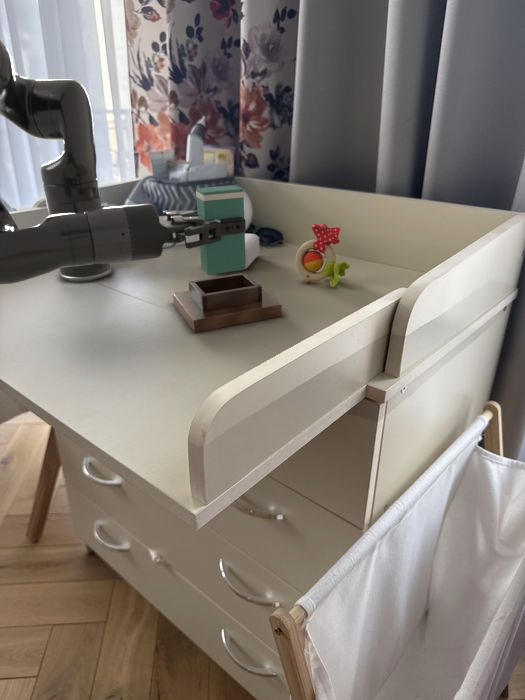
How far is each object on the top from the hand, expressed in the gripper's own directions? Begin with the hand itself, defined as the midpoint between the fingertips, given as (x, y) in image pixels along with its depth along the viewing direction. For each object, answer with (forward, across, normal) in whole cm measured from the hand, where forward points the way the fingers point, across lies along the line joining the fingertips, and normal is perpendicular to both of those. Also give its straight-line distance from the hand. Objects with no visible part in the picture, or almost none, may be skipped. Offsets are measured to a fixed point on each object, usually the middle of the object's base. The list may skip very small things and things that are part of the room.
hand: (238, 221), depth 81 cm
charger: (+5, +21, +14) cm, 26 cm away
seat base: (-3, 0, +14) cm, 14 cm away
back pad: (-3, 0, +7) cm, 8 cm away
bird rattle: (+17, +5, +14) cm, 22 cm away
